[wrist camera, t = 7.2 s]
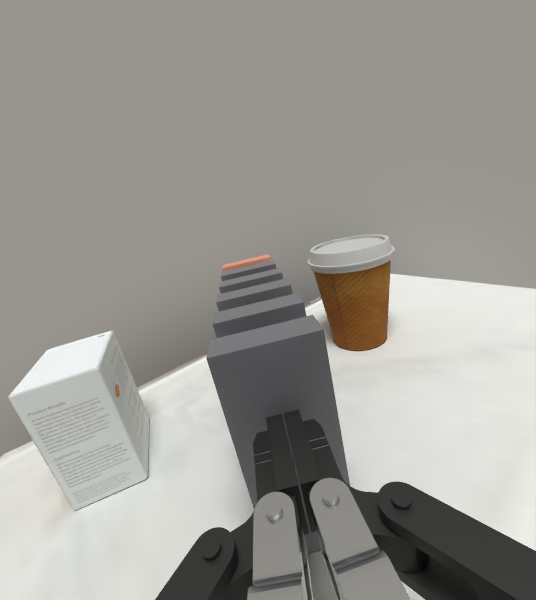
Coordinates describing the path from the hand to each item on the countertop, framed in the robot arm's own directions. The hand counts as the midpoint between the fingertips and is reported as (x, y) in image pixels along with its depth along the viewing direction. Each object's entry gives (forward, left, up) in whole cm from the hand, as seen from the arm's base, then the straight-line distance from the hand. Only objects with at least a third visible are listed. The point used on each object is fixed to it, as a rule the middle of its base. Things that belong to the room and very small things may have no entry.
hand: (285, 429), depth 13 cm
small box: (+7, +18, -9) cm, 21 cm away
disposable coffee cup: (+24, -5, -9) cm, 27 cm away
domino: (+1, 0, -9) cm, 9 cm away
